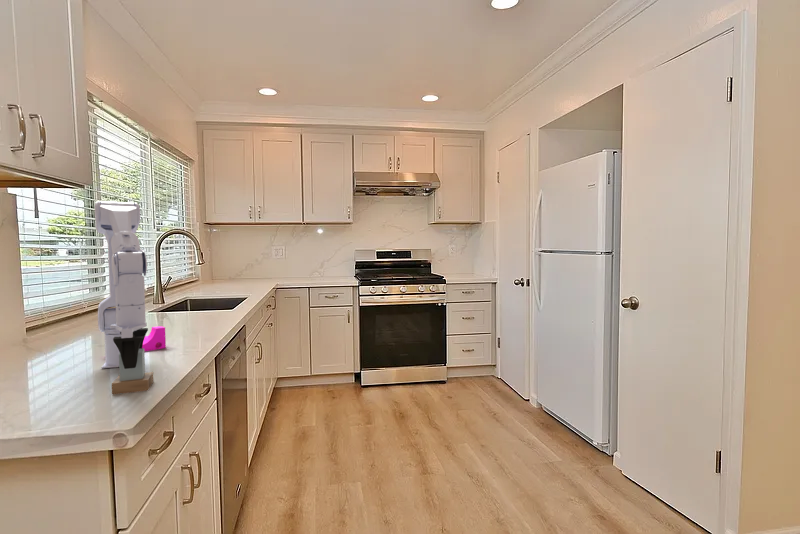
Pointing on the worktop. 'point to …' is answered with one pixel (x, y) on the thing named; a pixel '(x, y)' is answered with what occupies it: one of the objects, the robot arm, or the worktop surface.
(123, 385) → the walnut plinth
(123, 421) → the worktop surface
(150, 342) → the toy block
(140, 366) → the slate block
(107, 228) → the robot arm
